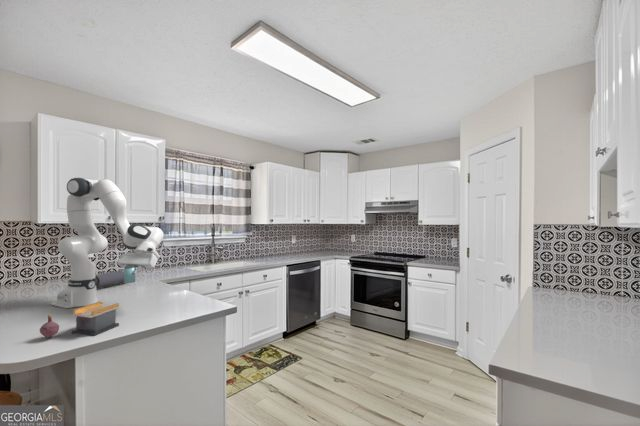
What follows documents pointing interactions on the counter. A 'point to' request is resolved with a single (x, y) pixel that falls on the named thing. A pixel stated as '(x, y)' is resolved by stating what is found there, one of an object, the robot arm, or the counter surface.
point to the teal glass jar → (129, 274)
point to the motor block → (95, 318)
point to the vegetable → (49, 328)
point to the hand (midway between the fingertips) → (129, 273)
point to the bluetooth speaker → (109, 279)
